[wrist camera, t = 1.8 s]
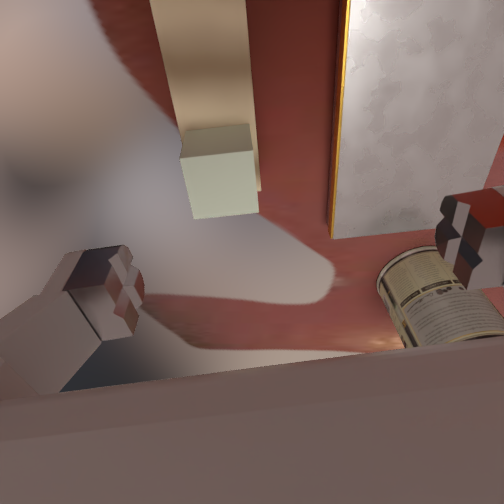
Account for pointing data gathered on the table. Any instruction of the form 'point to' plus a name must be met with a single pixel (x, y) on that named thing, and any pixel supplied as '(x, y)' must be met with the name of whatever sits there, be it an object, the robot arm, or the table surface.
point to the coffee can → (434, 301)
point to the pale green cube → (219, 171)
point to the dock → (412, 110)
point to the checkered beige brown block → (207, 64)
